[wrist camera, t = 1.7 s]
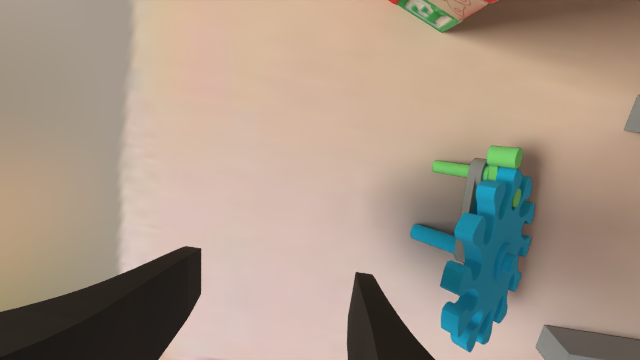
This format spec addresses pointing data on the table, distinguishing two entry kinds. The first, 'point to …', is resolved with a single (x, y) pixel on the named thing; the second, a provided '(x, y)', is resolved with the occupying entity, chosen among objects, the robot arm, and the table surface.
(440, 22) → the stack of blocks
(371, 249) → the table surface
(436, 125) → the table surface
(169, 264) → the robot arm
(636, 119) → the gear frame
